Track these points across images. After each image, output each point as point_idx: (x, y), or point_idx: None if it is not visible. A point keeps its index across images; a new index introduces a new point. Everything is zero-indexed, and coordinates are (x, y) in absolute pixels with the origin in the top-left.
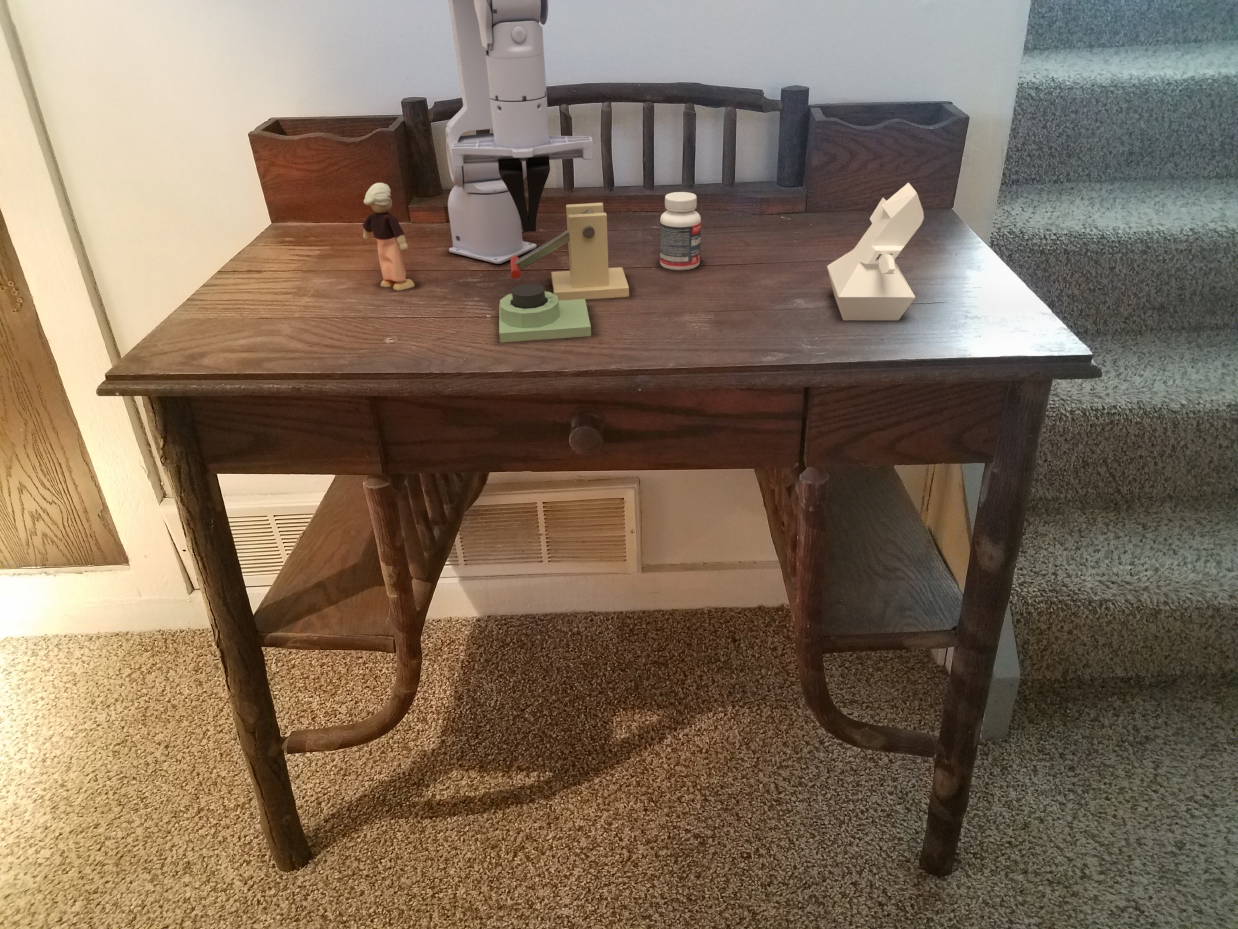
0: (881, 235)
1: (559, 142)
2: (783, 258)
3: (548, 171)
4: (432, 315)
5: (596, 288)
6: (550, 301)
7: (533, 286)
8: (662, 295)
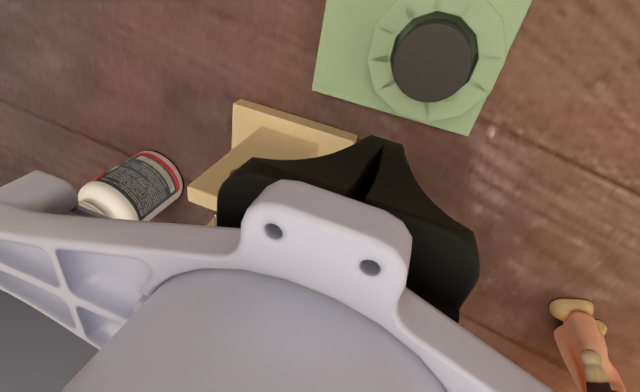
0: None
1: (108, 297)
2: (39, 129)
3: (236, 170)
4: (592, 183)
5: (282, 124)
6: (390, 36)
7: (412, 78)
8: (192, 81)
